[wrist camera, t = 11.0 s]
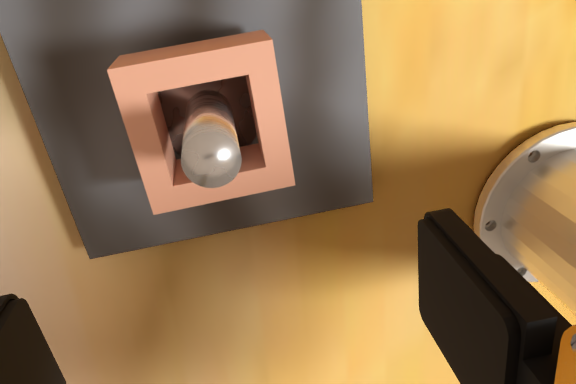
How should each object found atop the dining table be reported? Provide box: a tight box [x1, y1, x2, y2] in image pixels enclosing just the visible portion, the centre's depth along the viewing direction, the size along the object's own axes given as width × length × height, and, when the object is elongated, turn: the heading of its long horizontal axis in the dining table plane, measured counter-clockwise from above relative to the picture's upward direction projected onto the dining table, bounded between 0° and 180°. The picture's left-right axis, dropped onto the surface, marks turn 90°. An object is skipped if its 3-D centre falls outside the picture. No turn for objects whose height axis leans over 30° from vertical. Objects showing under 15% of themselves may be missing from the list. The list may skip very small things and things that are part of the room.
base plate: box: [0, 0, 373, 259], centre depth 27 cm, size 18×16×2 cm
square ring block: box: [107, 30, 295, 215], centre depth 24 cm, size 7×7×4 cm
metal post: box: [158, 75, 257, 188], centre depth 22 cm, size 6×6×8 cm
